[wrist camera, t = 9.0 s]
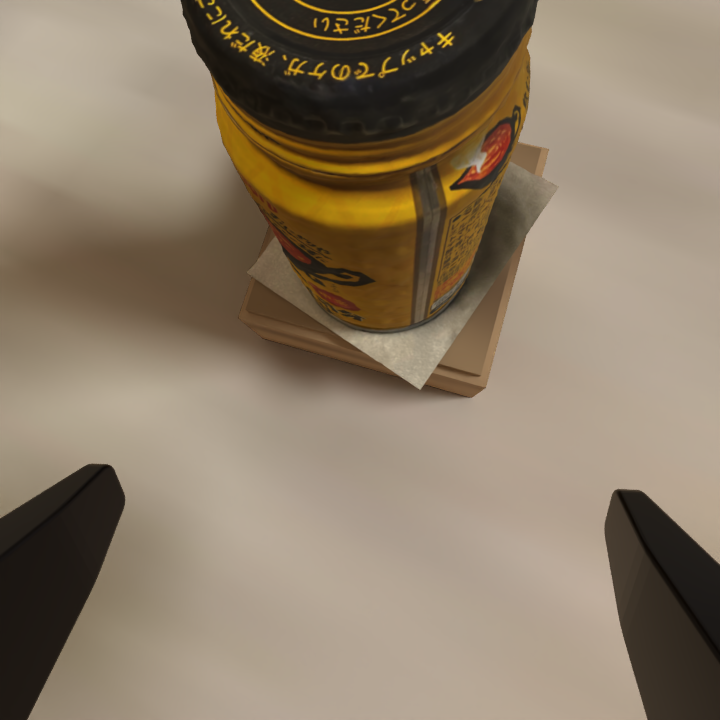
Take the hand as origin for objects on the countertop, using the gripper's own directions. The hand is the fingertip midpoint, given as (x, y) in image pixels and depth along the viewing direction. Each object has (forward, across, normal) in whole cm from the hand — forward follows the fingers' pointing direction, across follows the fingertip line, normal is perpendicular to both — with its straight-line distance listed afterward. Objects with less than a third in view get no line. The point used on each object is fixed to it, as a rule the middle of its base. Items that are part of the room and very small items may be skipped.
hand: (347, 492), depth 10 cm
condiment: (+12, 0, 0) cm, 12 cm away
